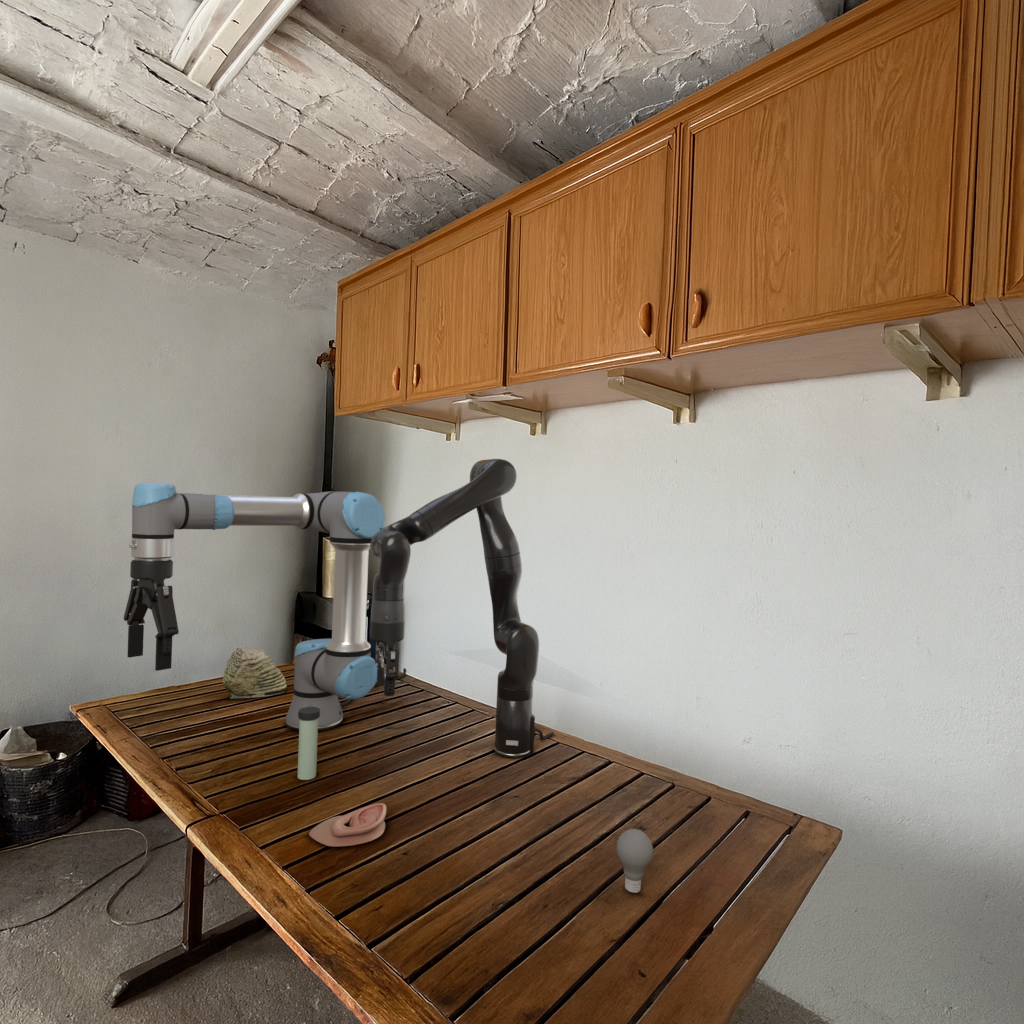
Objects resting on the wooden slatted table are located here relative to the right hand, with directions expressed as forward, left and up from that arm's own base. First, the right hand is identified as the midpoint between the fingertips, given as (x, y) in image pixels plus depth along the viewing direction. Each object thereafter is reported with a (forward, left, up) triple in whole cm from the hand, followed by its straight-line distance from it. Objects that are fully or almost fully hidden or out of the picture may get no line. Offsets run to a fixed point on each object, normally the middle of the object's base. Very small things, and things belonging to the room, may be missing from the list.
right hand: (385, 689), depth 143 cm
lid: (+16, -6, -6) cm, 18 cm away
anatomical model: (+11, +21, -20) cm, 31 cm away
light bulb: (-31, +54, -20) cm, 66 cm away
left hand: (+48, -5, +8) cm, 49 cm away
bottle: (+16, -6, -20) cm, 26 cm away
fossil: (+26, -70, -20) cm, 77 cm away
